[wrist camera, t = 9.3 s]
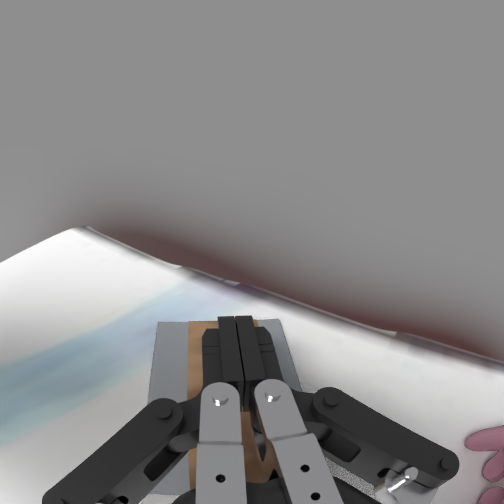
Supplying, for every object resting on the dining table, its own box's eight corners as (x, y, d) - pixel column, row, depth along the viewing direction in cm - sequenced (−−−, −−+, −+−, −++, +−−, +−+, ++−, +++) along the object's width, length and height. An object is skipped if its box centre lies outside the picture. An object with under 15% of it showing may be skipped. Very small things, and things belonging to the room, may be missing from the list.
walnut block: (190, 500, 9) (188, 321, 21) (200, 514, 12) (193, 364, 23) (298, 490, 10) (256, 319, 21) (282, 508, 12) (252, 362, 24)
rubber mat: (328, 479, 14) (329, 477, 14) (143, 492, 13) (142, 491, 12) (278, 321, 29) (278, 318, 29) (158, 324, 27) (158, 321, 27)
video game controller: (461, 546, 7) (543, 519, 3) (438, 539, 8) (532, 511, 3) (481, 451, 14) (544, 417, 10) (461, 433, 15) (531, 394, 11)
